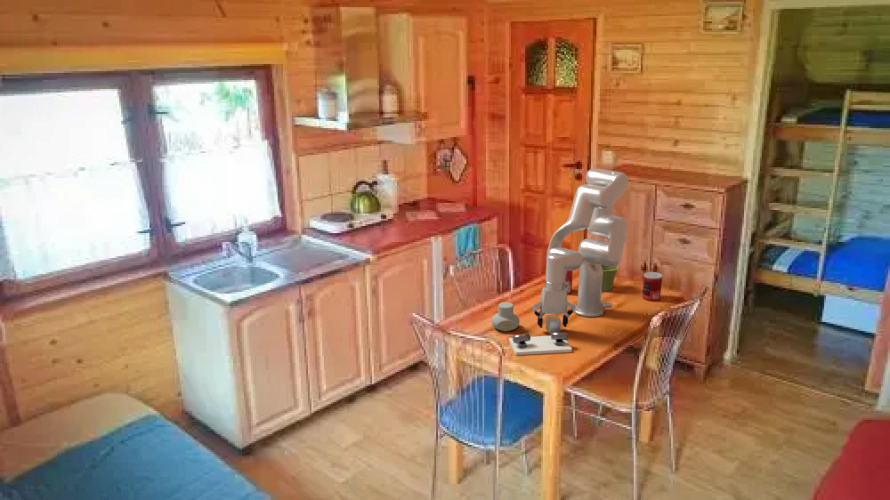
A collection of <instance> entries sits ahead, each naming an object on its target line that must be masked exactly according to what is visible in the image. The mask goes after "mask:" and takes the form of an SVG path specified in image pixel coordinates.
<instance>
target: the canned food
mask: <svg viewBox="0 0 890 500" xmlns="http://www.w3.org/2000/svg"><path fill="white" fill-rule="evenodd" d="M662 283H663V274H662V273H660V272H655V271H648V272H645V273H643V281H642V291H641V297H642V299H643V300H644V299H645V301H648V302H658V301H659V300H660V299H661V294H662Z"/></svg>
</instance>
